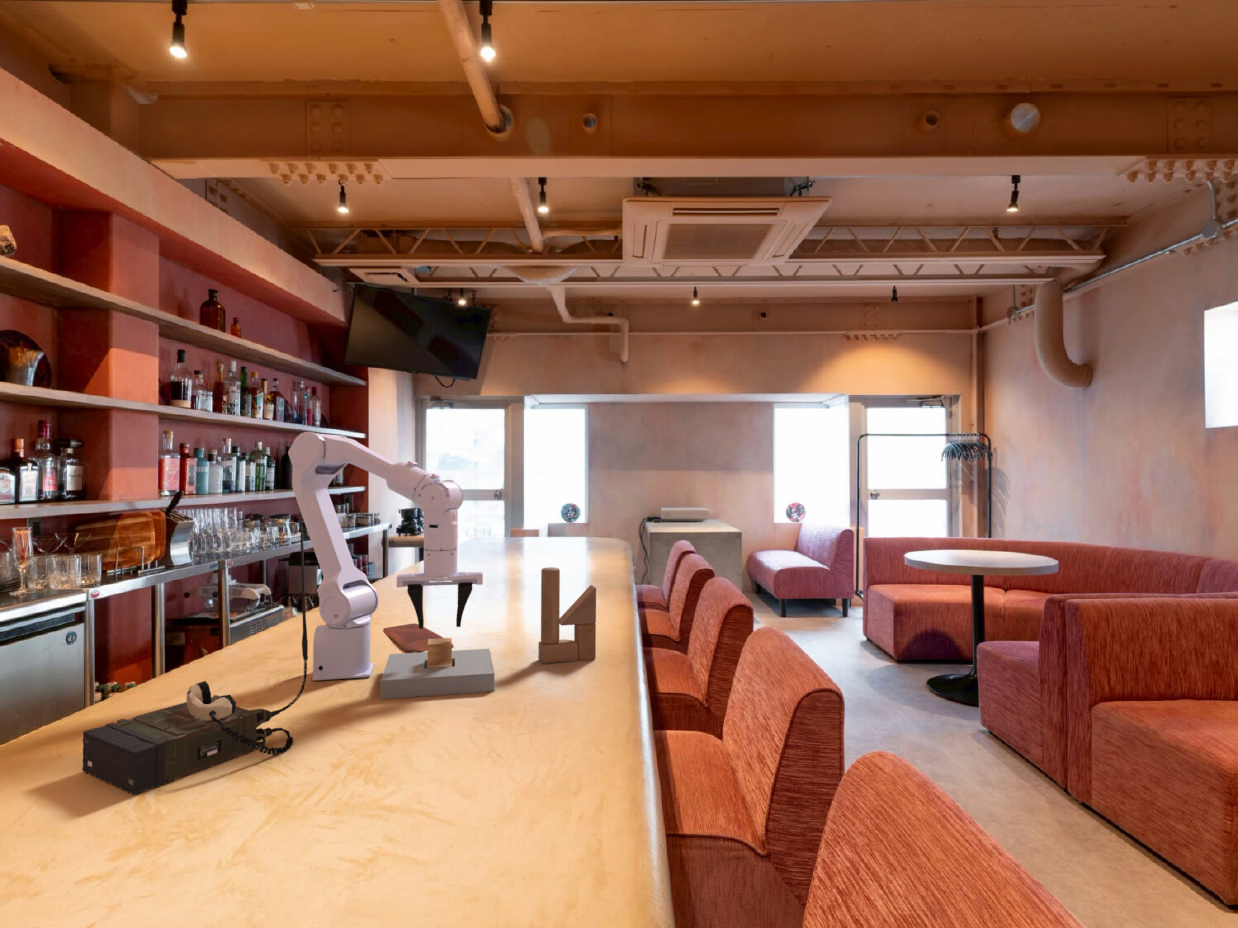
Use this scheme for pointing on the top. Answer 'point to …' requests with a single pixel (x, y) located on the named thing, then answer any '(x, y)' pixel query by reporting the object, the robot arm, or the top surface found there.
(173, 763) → the radio
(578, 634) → the wooden block
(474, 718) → the top surface
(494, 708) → the top surface
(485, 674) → the slate board
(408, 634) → the wooden tablet
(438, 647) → the oak peg
